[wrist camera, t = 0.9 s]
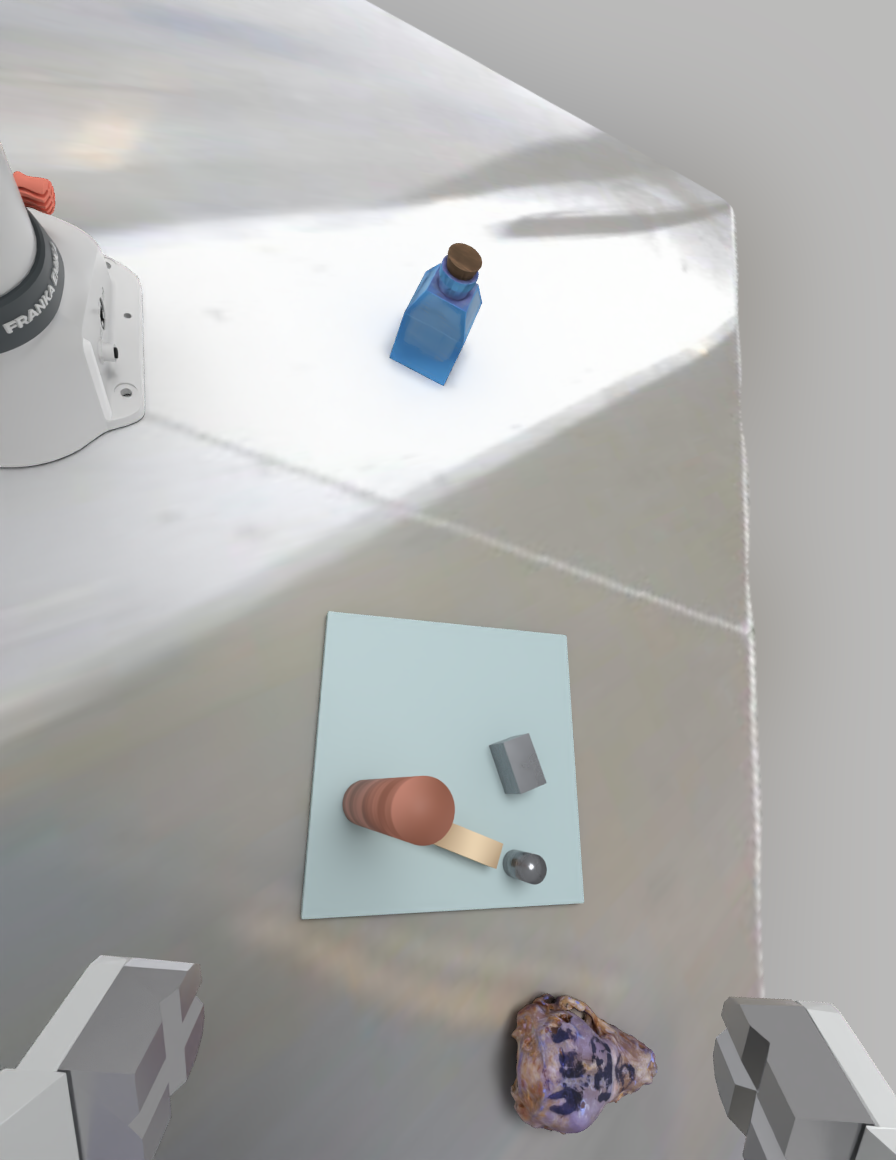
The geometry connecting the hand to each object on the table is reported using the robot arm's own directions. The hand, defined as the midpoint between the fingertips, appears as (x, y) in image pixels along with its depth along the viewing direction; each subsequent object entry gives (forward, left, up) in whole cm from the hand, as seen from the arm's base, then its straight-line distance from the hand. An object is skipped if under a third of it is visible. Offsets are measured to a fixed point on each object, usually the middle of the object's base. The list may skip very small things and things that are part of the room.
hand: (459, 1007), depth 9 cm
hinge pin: (+2, +17, -36) cm, 40 cm away
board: (-6, +12, -36) cm, 39 cm away
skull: (+15, +21, -37) cm, 45 cm away
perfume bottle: (-47, +9, -36) cm, 60 cm away
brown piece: (-1, +9, -35) cm, 36 cm away
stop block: (-5, +17, -36) cm, 40 cm away
